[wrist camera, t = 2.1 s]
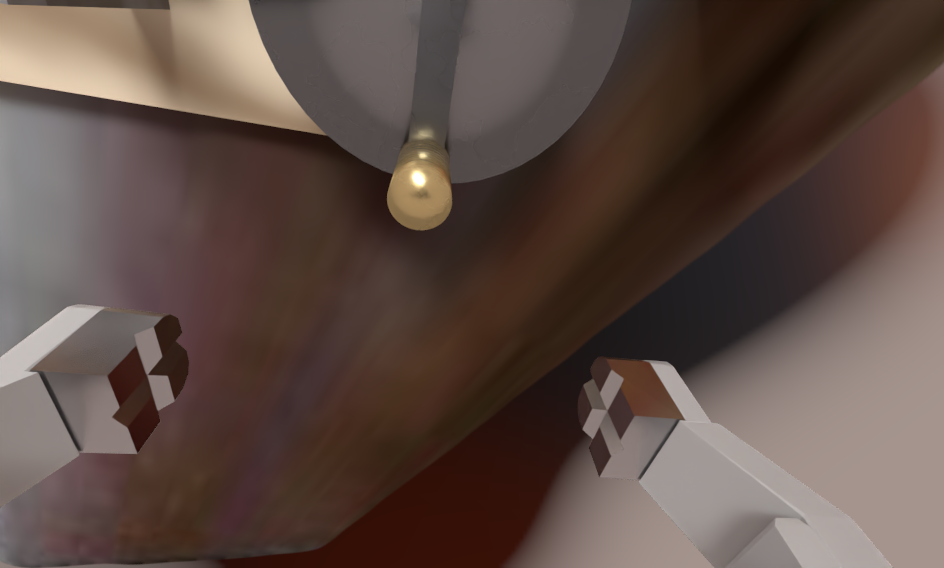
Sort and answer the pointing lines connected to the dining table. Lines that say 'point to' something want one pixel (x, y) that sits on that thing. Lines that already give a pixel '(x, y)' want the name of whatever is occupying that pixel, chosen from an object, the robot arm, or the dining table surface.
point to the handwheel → (441, 82)
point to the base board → (150, 56)
